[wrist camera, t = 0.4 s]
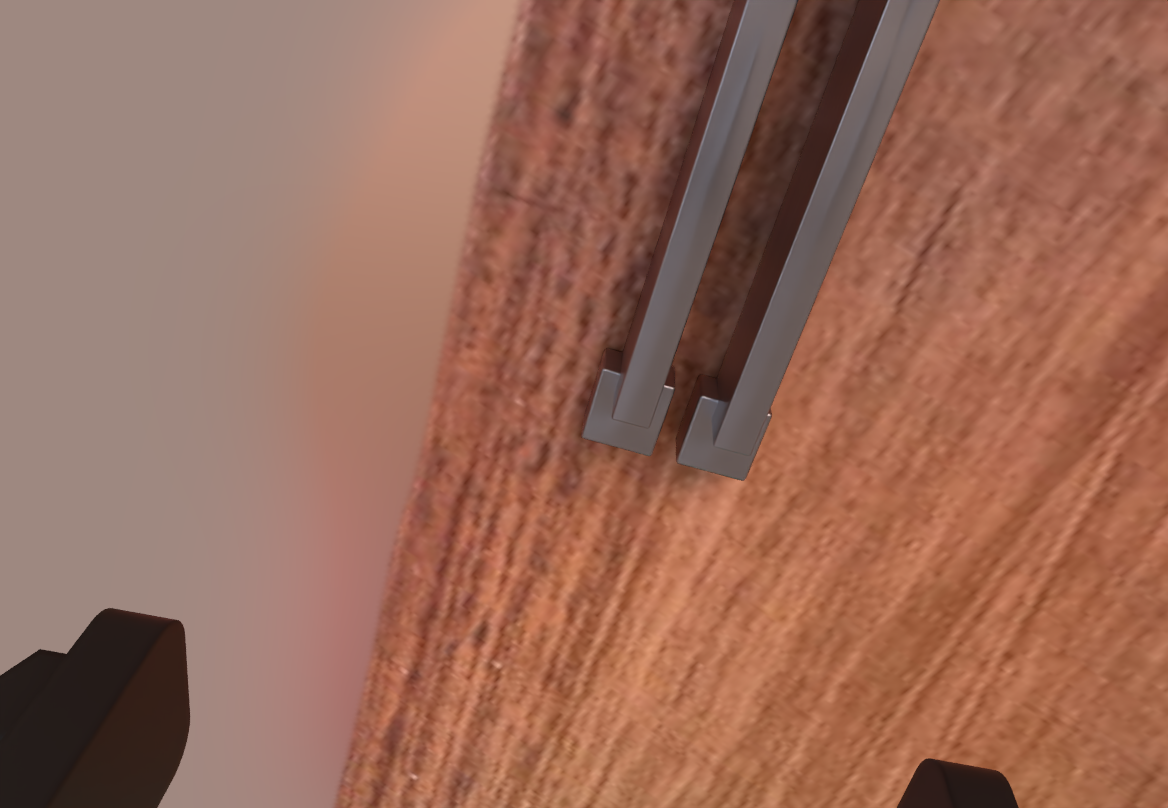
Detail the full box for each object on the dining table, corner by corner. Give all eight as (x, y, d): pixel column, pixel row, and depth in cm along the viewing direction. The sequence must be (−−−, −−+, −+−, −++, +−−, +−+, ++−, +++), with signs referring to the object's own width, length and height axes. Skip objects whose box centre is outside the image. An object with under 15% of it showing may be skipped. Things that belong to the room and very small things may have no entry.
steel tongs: (926, -707, 14) (969, -806, 12) (1183, -618, 15) (1269, -703, 13) (584, 414, 24) (576, 465, 22) (742, 457, 24) (748, 510, 22)
